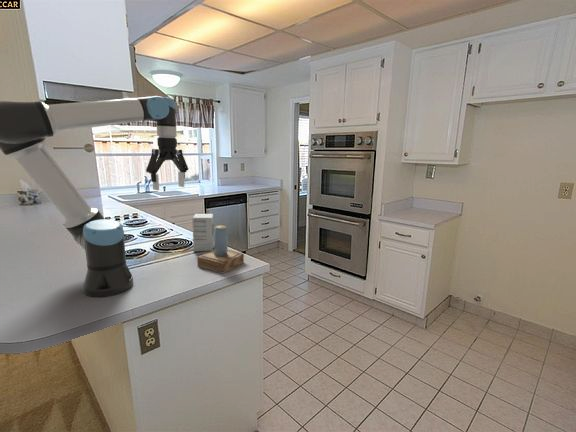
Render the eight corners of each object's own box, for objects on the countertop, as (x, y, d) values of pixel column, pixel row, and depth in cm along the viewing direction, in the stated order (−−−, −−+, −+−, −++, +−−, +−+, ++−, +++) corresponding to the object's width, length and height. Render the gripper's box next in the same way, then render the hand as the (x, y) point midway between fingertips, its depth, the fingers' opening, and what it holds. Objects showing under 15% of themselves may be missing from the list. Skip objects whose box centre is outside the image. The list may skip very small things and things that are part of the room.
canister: (221, 257, 126) (221, 229, 124) (211, 255, 129) (211, 227, 126) (230, 254, 131) (230, 226, 128) (219, 251, 134) (219, 224, 131)
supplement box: (212, 251, 146) (212, 217, 142) (193, 251, 144) (192, 217, 140) (214, 245, 155) (213, 213, 151) (195, 245, 153) (194, 213, 149)
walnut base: (223, 272, 122) (223, 263, 121) (197, 265, 128) (197, 256, 127) (243, 262, 134) (243, 253, 133) (219, 255, 140) (219, 247, 139)
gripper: (183, 138, 136) (184, 184, 141) (133, 135, 115) (137, 190, 119) (195, 138, 133) (196, 186, 138) (147, 136, 111) (150, 192, 116)
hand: (169, 188), depth 129 cm, fingers open, 13 cm apart
